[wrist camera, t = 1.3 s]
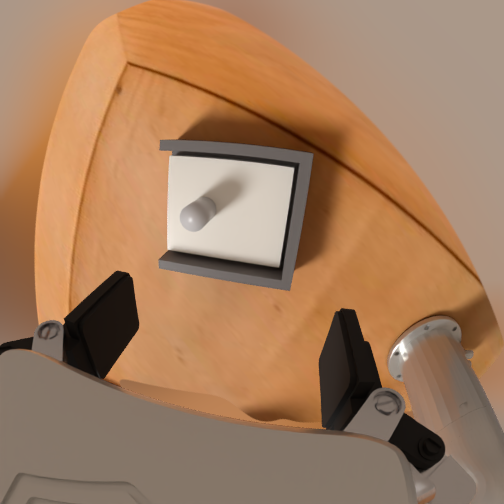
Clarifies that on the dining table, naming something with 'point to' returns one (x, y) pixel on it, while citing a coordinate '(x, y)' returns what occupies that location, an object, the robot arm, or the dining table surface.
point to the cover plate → (228, 208)
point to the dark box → (298, 197)
